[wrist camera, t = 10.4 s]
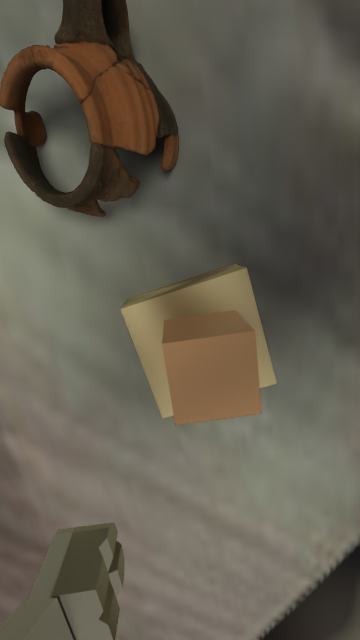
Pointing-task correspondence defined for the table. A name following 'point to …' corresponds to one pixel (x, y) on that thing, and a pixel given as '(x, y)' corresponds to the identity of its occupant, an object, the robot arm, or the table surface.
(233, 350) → the terracotta cube
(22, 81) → the brown rounded piece
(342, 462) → the table surface
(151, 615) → the table surface
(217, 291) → the beech block
